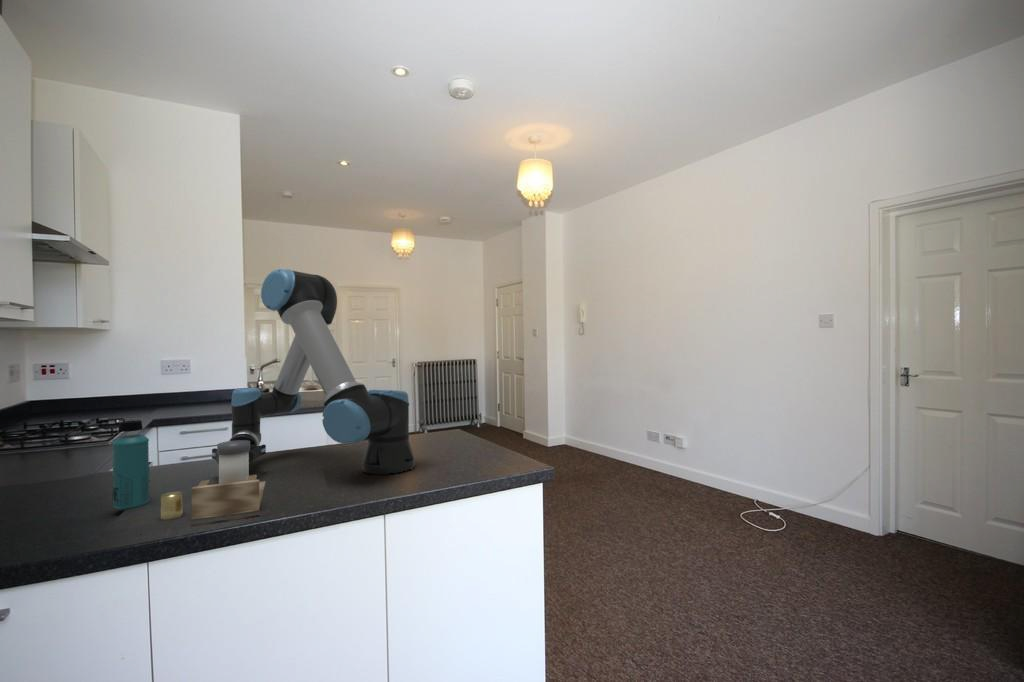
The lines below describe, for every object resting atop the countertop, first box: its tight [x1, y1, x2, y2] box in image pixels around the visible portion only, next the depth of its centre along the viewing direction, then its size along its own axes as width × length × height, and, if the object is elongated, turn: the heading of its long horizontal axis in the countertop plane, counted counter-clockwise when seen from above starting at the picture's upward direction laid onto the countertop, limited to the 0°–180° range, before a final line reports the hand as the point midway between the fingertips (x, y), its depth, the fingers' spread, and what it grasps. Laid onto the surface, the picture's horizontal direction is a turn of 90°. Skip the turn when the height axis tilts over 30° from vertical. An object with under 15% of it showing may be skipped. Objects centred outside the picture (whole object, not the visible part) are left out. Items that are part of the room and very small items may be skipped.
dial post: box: [160, 491, 183, 520], centre depth 97 cm, size 4×4×6 cm
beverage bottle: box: [111, 419, 151, 510], centre depth 104 cm, size 6×7×20 cm
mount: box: [190, 474, 266, 528], centre depth 108 cm, size 12×24×8 cm, turn 24°
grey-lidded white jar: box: [216, 440, 250, 484], centre depth 110 cm, size 7×7×12 cm
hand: (231, 465), depth 112 cm, fingers closed
